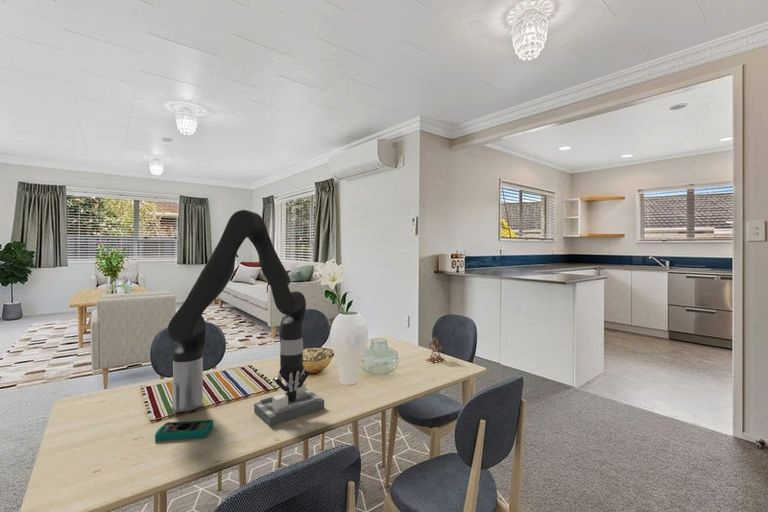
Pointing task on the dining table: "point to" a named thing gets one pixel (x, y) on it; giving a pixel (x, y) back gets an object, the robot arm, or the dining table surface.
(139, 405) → the dining table surface
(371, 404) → the dining table surface
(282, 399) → the tab front
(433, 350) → the brown irregular upright piece
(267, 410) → the switch panel
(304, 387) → the tab back
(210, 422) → the digital multimeter
